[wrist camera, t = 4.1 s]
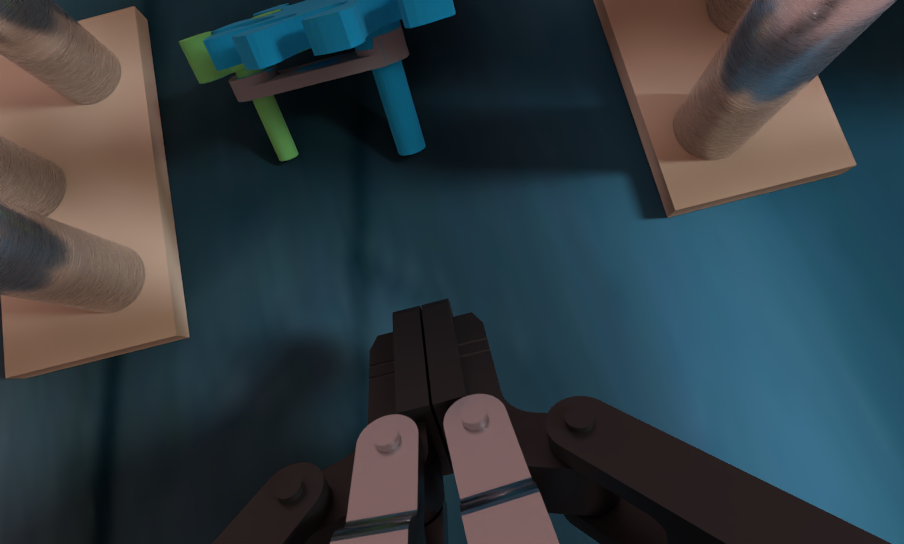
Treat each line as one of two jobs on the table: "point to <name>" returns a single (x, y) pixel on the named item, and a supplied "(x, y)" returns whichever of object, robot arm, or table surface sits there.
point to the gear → (325, 31)
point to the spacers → (98, 73)
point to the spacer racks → (149, 200)
